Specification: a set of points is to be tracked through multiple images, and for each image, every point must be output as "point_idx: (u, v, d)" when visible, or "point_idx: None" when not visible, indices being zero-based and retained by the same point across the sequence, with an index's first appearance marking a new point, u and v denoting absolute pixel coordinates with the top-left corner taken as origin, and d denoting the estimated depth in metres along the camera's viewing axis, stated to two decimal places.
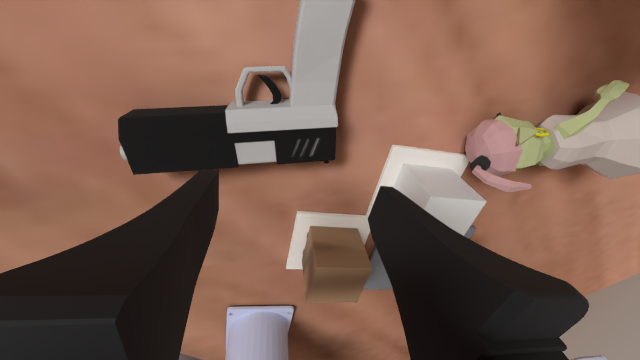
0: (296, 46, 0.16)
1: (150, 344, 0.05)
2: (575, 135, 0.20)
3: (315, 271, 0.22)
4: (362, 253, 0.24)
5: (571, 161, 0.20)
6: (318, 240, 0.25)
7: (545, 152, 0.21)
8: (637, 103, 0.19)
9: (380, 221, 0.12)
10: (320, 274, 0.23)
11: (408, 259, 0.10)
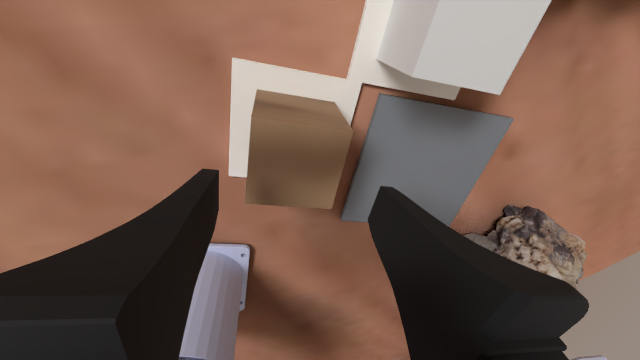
0: None
1: (150, 344, 0.05)
2: None
3: (250, 130, 0.13)
4: (338, 118, 0.14)
5: None
6: (265, 99, 0.15)
7: None
8: None
9: (380, 222, 0.12)
10: (260, 137, 0.13)
11: (408, 259, 0.10)
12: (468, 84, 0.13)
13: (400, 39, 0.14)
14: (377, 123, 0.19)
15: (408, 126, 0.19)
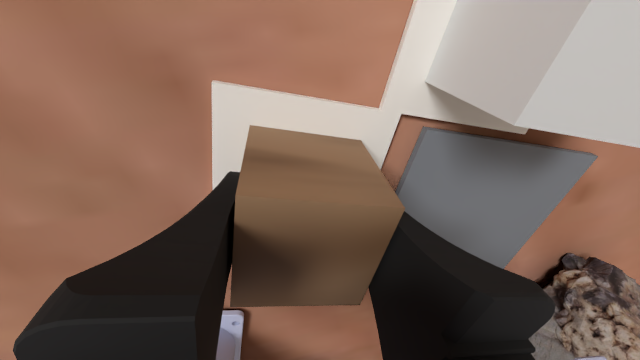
0: None
1: (206, 341, 0.05)
2: None
3: (235, 213, 0.07)
4: (374, 178, 0.09)
5: None
6: (261, 147, 0.10)
7: None
8: None
9: None
10: (252, 223, 0.08)
11: (383, 258, 0.10)
12: (600, 134, 0.08)
13: (480, 57, 0.08)
14: (418, 166, 0.13)
15: (459, 169, 0.14)
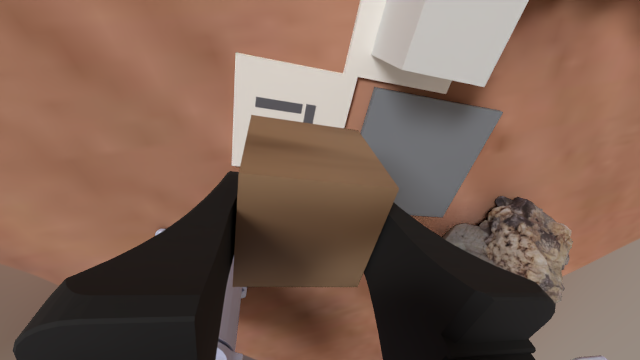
0: None
1: (205, 342, 0.05)
2: None
3: (238, 191, 0.08)
4: (370, 163, 0.10)
5: None
6: (262, 133, 0.10)
7: None
8: None
9: None
10: (254, 201, 0.08)
11: (382, 258, 0.10)
12: (454, 77, 0.14)
13: (392, 35, 0.15)
14: (373, 115, 0.20)
15: (402, 118, 0.20)
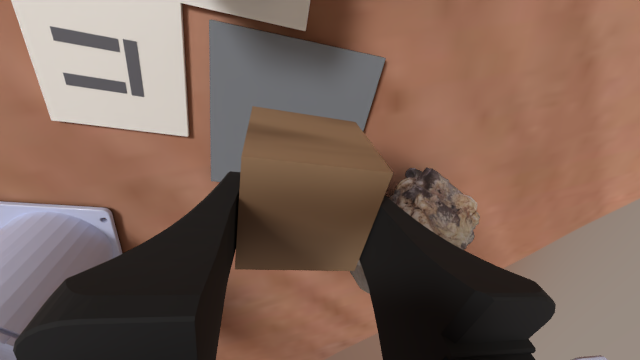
0: None
1: (206, 341, 0.05)
2: None
3: (241, 174, 0.08)
4: (366, 150, 0.10)
5: None
6: (263, 122, 0.11)
7: None
8: None
9: None
10: (256, 184, 0.08)
11: (382, 258, 0.10)
12: None
13: None
14: (216, 57, 0.16)
15: (256, 63, 0.17)
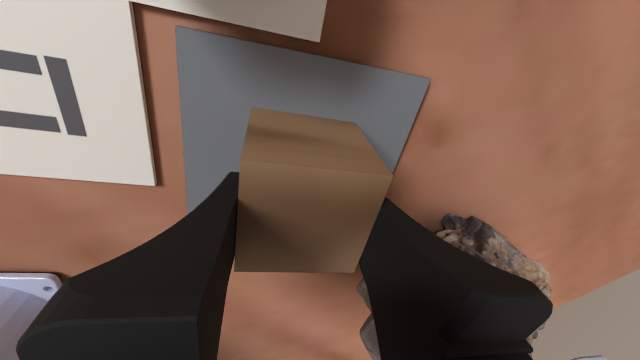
0: None
1: (207, 341, 0.05)
2: None
3: (240, 178, 0.08)
4: (366, 152, 0.10)
5: None
6: (263, 124, 0.10)
7: None
8: None
9: None
10: (254, 187, 0.08)
11: (380, 258, 0.09)
12: None
13: None
14: (189, 80, 0.11)
15: (247, 88, 0.11)
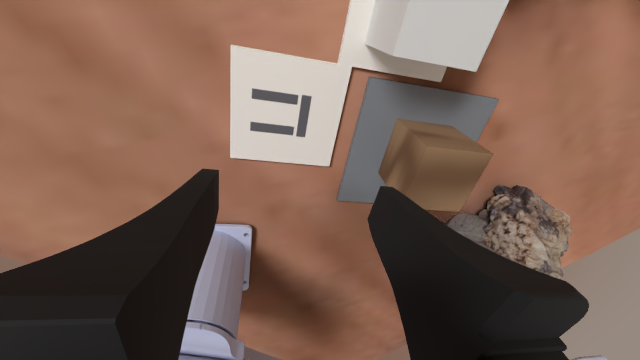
0: None
1: (150, 344, 0.05)
2: None
3: (422, 155, 0.17)
4: (472, 142, 0.19)
5: None
6: (414, 128, 0.19)
7: None
8: None
9: (380, 221, 0.12)
10: (428, 160, 0.17)
11: (408, 259, 0.10)
12: (445, 62, 0.14)
13: (384, 23, 0.15)
14: (368, 105, 0.20)
15: (397, 108, 0.20)
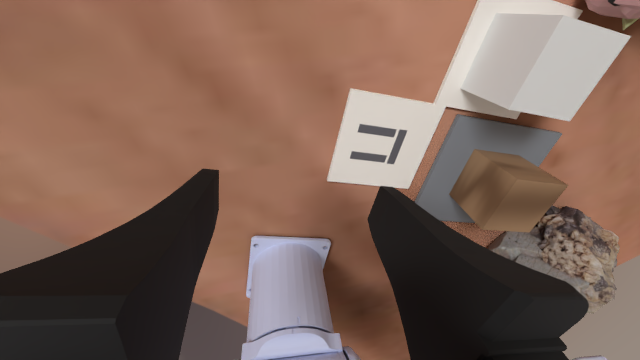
0: None
1: (150, 344, 0.05)
2: None
3: (510, 186, 0.20)
4: (545, 173, 0.22)
5: None
6: (494, 160, 0.22)
7: None
8: None
9: (380, 222, 0.12)
10: (515, 190, 0.20)
11: (408, 259, 0.10)
12: (548, 114, 0.17)
13: (492, 78, 0.17)
14: (453, 138, 0.23)
15: (476, 140, 0.23)
